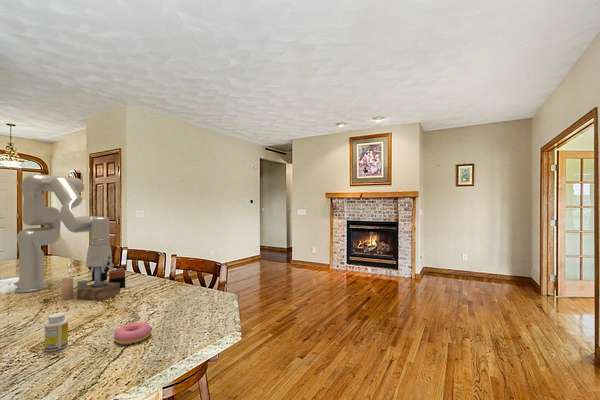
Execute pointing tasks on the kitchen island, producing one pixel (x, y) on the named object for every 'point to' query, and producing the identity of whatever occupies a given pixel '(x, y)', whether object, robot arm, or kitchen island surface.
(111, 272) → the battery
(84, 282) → the short dowel
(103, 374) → the kitchen island surface
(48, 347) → the supplement bottle
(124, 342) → the doughnut
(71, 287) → the medium dowel
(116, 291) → the hole block
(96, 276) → the tall dowel
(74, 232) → the robot arm
